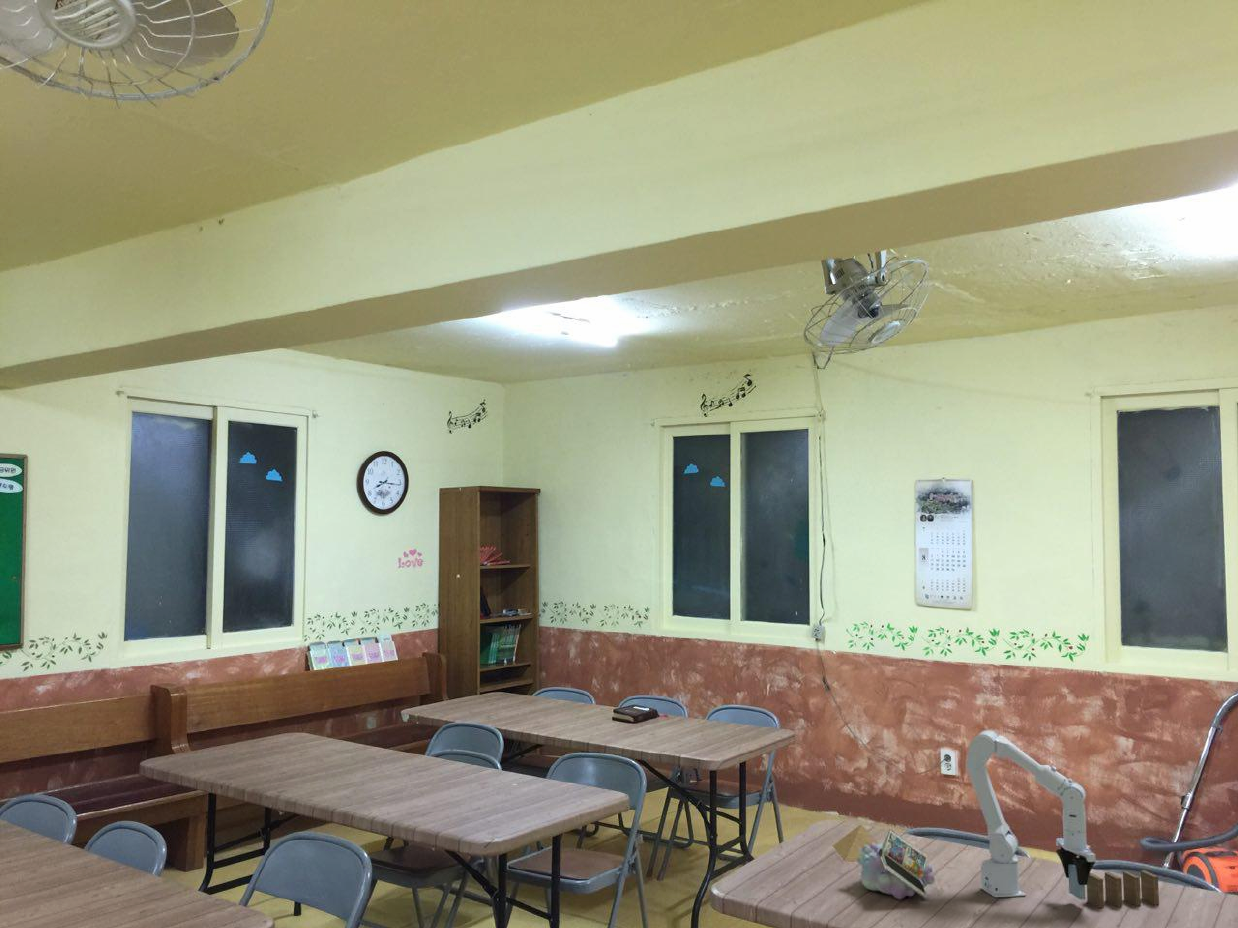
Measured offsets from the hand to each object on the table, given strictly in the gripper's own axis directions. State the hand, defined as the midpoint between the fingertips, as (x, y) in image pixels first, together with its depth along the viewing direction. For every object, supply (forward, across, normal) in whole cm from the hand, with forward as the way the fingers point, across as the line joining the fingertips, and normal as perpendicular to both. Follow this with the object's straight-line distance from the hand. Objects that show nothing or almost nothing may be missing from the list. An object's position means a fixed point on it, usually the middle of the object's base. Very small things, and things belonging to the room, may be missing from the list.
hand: (1076, 880), depth 261 cm
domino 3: (+6, 0, -11) cm, 13 cm away
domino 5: (+6, 0, -22) cm, 23 cm away
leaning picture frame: (+7, +17, +44) cm, 48 cm away
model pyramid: (+7, +49, +41) cm, 64 cm away
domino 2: (+6, 0, -6) cm, 9 cm away
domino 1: (+4, 0, 0) cm, 4 cm away
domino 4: (+6, 0, -16) cm, 18 cm away
